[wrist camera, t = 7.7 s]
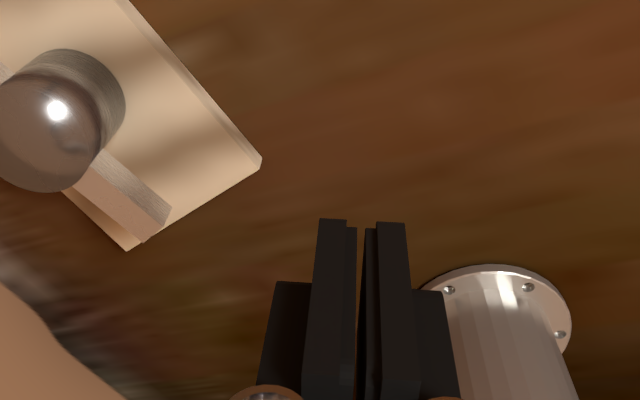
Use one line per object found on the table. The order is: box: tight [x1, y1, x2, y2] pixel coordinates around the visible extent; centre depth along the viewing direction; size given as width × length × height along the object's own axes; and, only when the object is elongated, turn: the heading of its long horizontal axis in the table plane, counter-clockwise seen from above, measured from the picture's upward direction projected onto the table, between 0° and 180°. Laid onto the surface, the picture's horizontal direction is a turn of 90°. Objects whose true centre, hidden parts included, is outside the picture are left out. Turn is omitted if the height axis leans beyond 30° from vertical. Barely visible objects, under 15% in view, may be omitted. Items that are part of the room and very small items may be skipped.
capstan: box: [0, 49, 172, 243], centre depth 33 cm, size 16×6×6 cm, turn 42°
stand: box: [0, 0, 262, 252], centre depth 36 cm, size 20×12×2 cm, turn 35°
